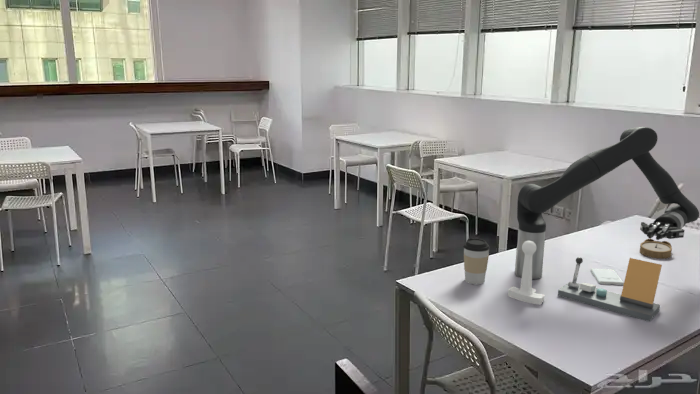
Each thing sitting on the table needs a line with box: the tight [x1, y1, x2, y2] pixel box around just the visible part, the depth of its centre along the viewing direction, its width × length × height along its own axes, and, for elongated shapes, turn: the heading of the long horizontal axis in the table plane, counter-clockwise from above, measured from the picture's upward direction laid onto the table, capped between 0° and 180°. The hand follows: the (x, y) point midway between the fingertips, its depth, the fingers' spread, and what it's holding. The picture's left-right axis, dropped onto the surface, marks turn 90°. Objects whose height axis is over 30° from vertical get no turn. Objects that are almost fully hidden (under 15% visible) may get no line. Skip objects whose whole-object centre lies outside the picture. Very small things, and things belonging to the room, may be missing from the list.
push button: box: [596, 287, 608, 297], centre depth 178 cm, size 3×3×2 cm
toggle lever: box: [567, 256, 584, 289], centre depth 184 cm, size 3×2×10 cm
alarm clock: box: [639, 238, 673, 259], centre depth 223 cm, size 11×5×15 cm
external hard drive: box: [590, 268, 624, 286], centre depth 198 cm, size 2×8×12 cm
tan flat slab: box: [620, 257, 663, 309], centre depth 171 cm, size 9×2×14 cm, turn 47°
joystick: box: [507, 241, 546, 306], centre depth 179 cm, size 11×8×20 cm
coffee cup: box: [462, 237, 490, 285], centre depth 194 cm, size 9×9×15 cm
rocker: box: [579, 282, 597, 292], centre depth 181 cm, size 4×4×2 cm
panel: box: [557, 280, 661, 322], centre depth 177 cm, size 28×10×2 cm, turn 47°
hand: (653, 236), depth 174 cm, fingers closed
